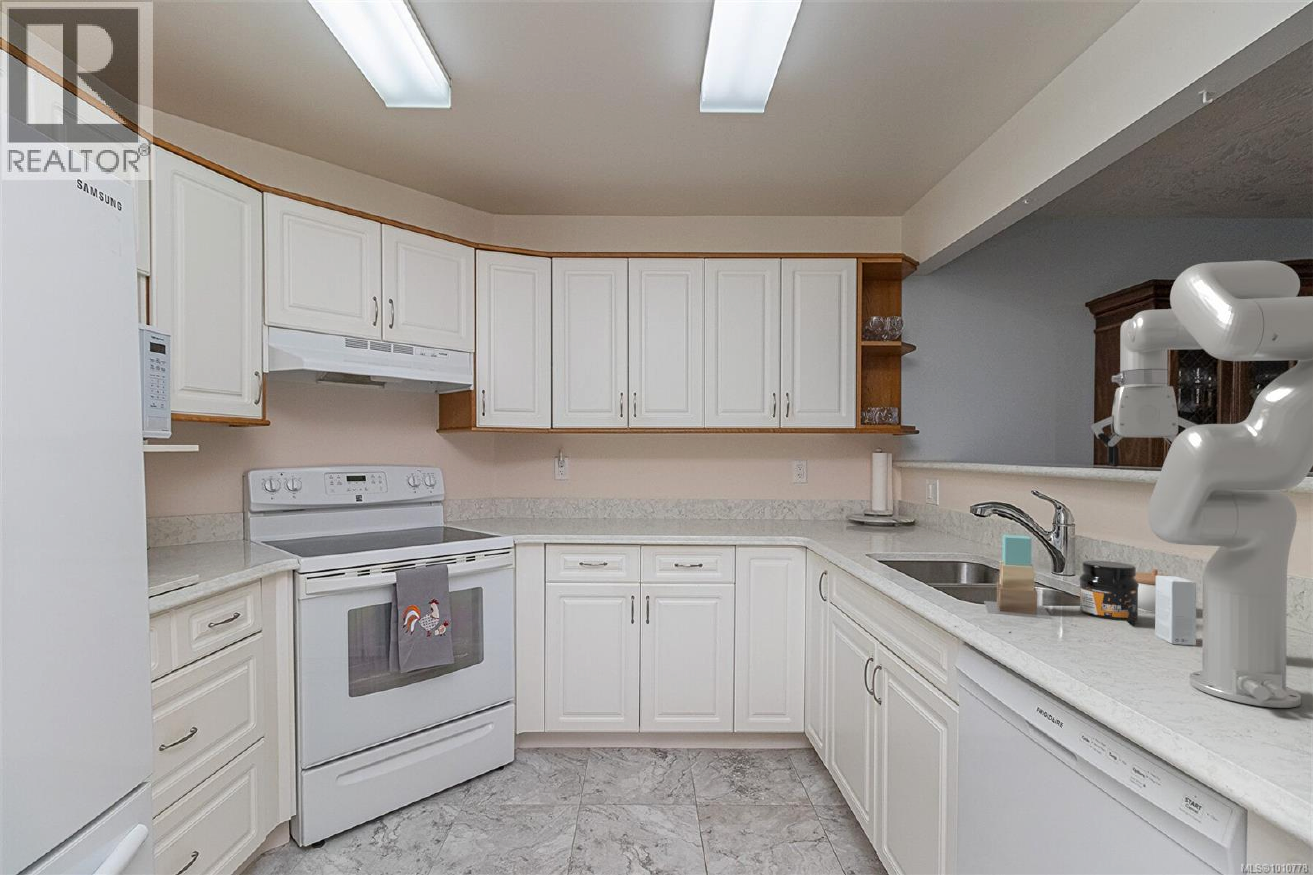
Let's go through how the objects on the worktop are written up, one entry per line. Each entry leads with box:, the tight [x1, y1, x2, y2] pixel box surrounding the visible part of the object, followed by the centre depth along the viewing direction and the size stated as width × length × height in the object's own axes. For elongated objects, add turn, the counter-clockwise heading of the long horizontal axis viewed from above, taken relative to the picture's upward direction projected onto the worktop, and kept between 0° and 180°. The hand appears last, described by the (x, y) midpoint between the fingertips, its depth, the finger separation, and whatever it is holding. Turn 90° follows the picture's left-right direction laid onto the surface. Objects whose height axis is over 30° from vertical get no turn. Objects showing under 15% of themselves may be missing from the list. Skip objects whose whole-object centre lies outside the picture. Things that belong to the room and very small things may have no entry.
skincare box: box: [1154, 575, 1197, 646], centre depth 127 cm, size 6×4×12 cm
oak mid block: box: [999, 560, 1035, 591], centre depth 145 cm, size 6×6×5 cm
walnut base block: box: [996, 581, 1038, 615], centre depth 145 cm, size 7×7×5 cm
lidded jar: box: [1134, 568, 1171, 614], centre depth 150 cm, size 11×11×9 cm
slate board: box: [983, 600, 1053, 620], centre depth 145 cm, size 12×12×1 cm
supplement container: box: [1079, 559, 1139, 626], centre depth 142 cm, size 10×10×12 cm
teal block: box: [1001, 534, 1032, 567], centre depth 145 cm, size 5×5×6 cm
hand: (1142, 467), depth 130 cm, fingers open, 9 cm apart
